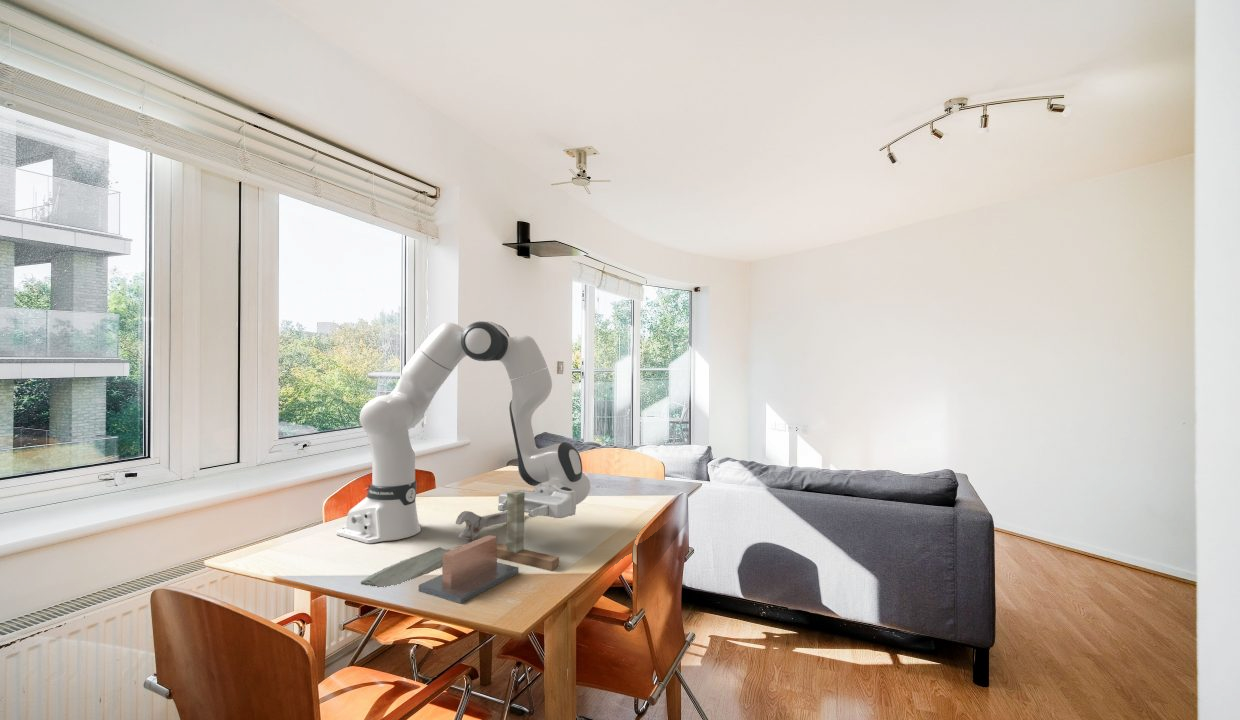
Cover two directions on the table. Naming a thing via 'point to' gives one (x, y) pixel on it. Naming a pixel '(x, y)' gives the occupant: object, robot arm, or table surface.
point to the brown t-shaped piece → (521, 538)
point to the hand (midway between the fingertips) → (515, 510)
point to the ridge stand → (469, 571)
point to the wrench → (478, 522)
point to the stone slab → (407, 569)
